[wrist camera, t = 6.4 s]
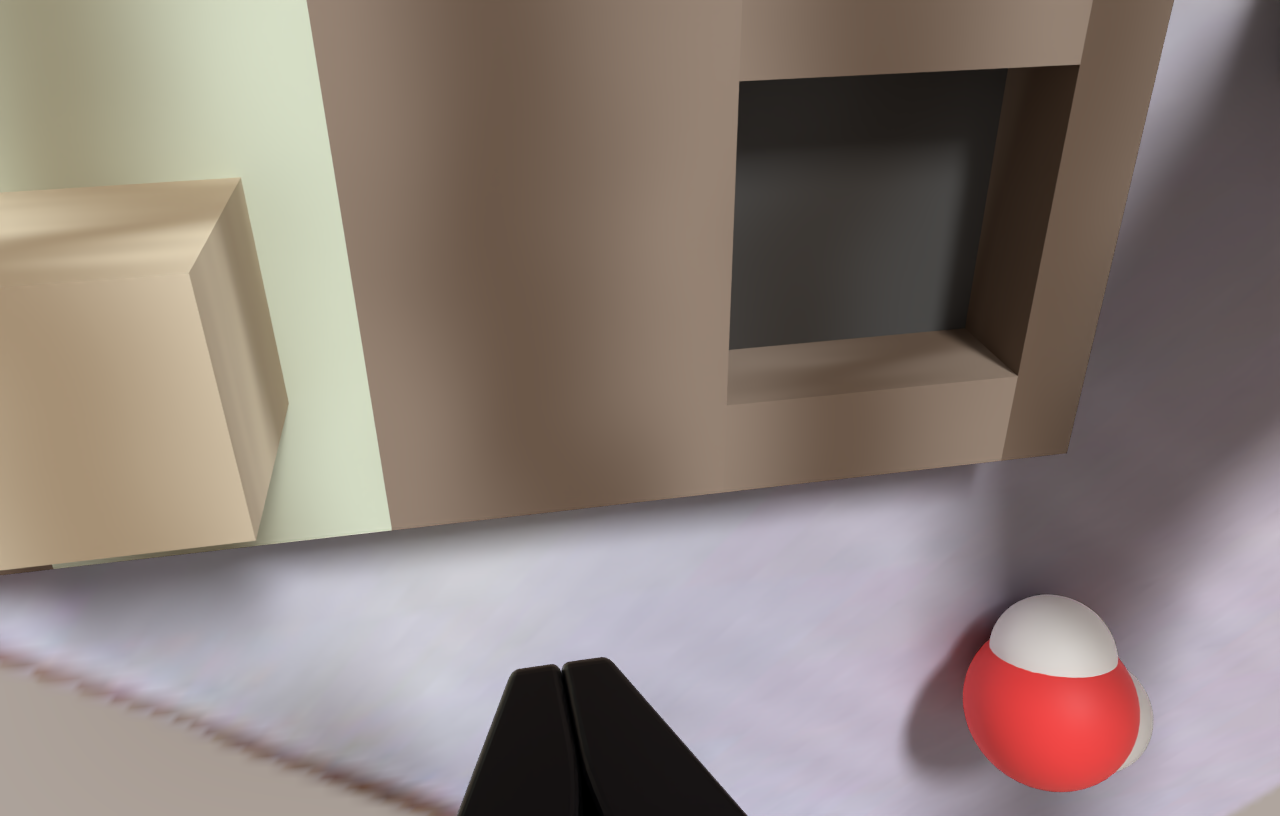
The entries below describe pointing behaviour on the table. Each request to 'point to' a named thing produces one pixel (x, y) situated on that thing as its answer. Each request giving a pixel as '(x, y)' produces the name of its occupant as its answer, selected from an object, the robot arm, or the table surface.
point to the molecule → (1055, 697)
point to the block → (133, 372)
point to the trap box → (621, 228)
